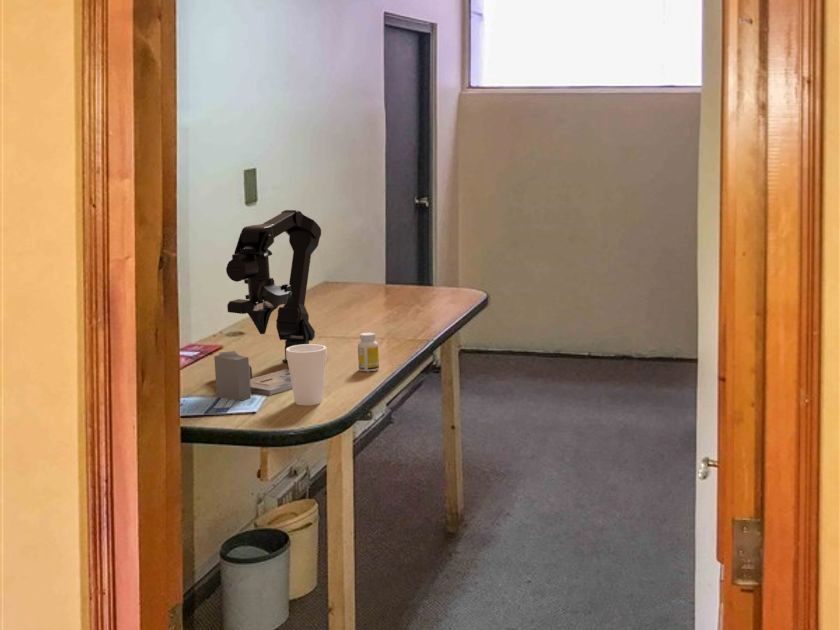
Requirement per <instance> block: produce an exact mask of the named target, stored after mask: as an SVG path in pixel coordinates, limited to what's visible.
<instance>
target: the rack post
mask: <svg viewBox="0 0 840 630" xmlns="http://www.w3.org/2000/svg"><path fill="white" fill-rule="evenodd" d="M238 355H239V354H238ZM238 355H231V354H222V355H219V354H218V355H215V356H213V357H214V360H213V361H214V372H215V392H216V397H219V398H222V397H223V399H227V400H228V399H229V400H232V399H234V401H238V400H239V401H238V402H240V400H241V401H243V400H244V401H245V400H247V399H250V398H252V397H251V393H250V378H249V365H250V363H249V356H243V355H240V356H238Z"/></svg>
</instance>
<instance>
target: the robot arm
mask: <svg viewBox="0 0 840 630" xmlns="http://www.w3.org/2000/svg"><path fill="white" fill-rule="evenodd" d="M283 233H286V234H287V235H288V236H289V237H288V240H289V241H288V242H289V244H290V247H291V249H292V251H293V252H292V259H291V265H290V266H291V267H290V273H289V280H288V281H289V282H288V283H285V284H284V283H283V284H282V285H275V279H274V277H271V275H270V274H271V273H270V261H269V257H270V256H272V255H273V253H272V251H271V250H270V249H269V248H270V247H271V246H272V245H273V244H274V243H275V238H276V237H278V236H279V235H281V234H283ZM321 237H322V228H321V227H320V226H319V224H318V223H317V222H316V221H315V220H314V219H312V218H310V217H308V216H306V215H305V214H304V213H302V211H299V210H298V209H285V210H282V211H281V213H279V214H277V215H276V216H274V217H272V218H271V219H268V220H266V221H265V222H263V223H260V224H253V225H248V226H244V227H243V228H242V229H241V232H240V234H239V236H238V239H237V243H236V247H235V250H234V252H233V254H232V255H231V260H229V261H228V263H227V265H226V267H225V271H226V275H227V277H228V278H229V279H230V280H231V281H233V282H242V281H244V282H243V283H244V284H247V287H248V288H247V289H248V294H246V295H245V296H244V297H245V299H242V298H238V299H237V298H236V299H234V300H230V301H229V302H228V303H227V305H226V307H227V313H232V314H242V315H244V314H245V315H246V314H247V315H248V316H249V317H250V319H251V321H252V323H253V324H254V326H255V327H256V329H257V331H258V333H259V334H260V335H265V334H266V332H267V328H268V324H269V320H270V317H271V314H272V312H274V310H276V309H278V310H277V318H276V320H275V321H276V325H275V326H276V330H277V335H278V338H279V341H284V344H285V345H284V359H281V362H282V363H288V361H287V359H286V349H287V348H288V347H291V346H295V345H302V344H310V341H314V339H315V333H316V330H315V328H313V326H312V325H311V323H310V322H309V317H310V316H309V312H308V311H307V309H306V305H305V301H306V295H307V289H308V288H307V287H308V281H309V280H308V279H309V272H310V267H311V266H310V265H311V259H312V258H311V257H312V254H313V253H314V251H316V249H317V248H318V246H319V242H320V238H321ZM281 305H283V306H282V307H281ZM278 307H279V308H278Z"/></svg>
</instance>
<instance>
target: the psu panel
mask: <svg viewBox="0 0 840 630" xmlns="http://www.w3.org/2000/svg"><path fill="white" fill-rule="evenodd" d="M250 384H251V393H256V394H262V395H267V396H273V395H275V394H279V393H282V392H285V391H289V390H293V388H292V383H291V377H290V372H289V369H286V368H284V369H281V370H280V369H279V370H277V371H274V372H270V373H266V374H264V375H259V376H256V377H252V379H250Z"/></svg>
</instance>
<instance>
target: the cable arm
mask: <svg viewBox="0 0 840 630" xmlns="http://www.w3.org/2000/svg"><path fill="white" fill-rule="evenodd" d="M222 354H231V355H238V356H241V355H240V354H238V353H237V352H236V351H235V350H231V351H220V352H219V353H218V355H222ZM252 372H253V371H252V366H251V365H250V364H249V378H250V379H252V378H253V373H252ZM251 393H252V392H251V384H250V394H251Z"/></svg>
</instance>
